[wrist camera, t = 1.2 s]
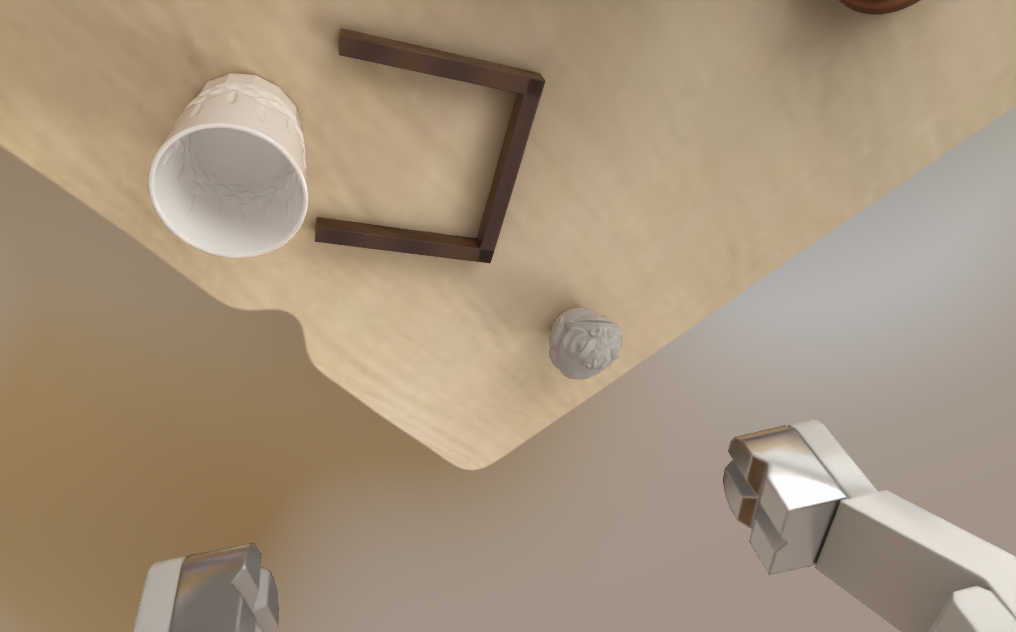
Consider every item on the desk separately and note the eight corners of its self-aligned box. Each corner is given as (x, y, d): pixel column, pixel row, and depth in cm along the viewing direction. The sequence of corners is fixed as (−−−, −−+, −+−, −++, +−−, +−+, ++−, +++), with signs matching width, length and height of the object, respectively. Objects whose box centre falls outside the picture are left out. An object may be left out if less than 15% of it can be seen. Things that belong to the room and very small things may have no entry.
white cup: (264, 202, 47) (251, 282, 39) (155, 129, 42) (116, 203, 35) (335, 120, 44) (338, 188, 37) (228, 34, 40) (205, 90, 32)
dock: (315, 231, 49) (314, 241, 48) (340, 27, 41) (341, 34, 40) (487, 253, 53) (490, 263, 52) (540, 73, 45) (545, 80, 44)
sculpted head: (616, 287, 58) (646, 337, 53) (590, 349, 62) (615, 402, 57) (551, 280, 56) (575, 331, 51) (529, 345, 60) (549, 399, 55)
